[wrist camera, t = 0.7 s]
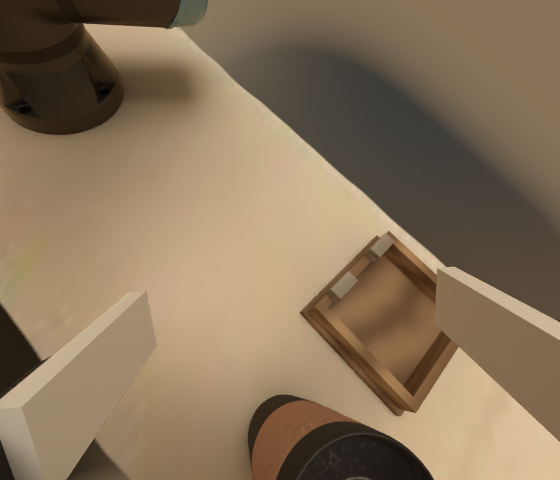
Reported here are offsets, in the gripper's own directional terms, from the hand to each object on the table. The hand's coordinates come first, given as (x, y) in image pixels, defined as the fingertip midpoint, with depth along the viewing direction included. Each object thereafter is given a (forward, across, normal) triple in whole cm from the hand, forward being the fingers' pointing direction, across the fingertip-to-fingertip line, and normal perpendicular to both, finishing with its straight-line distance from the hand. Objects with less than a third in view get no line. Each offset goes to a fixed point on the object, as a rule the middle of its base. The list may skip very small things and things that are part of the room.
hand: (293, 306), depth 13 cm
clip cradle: (+21, +12, -12) cm, 27 cm away
